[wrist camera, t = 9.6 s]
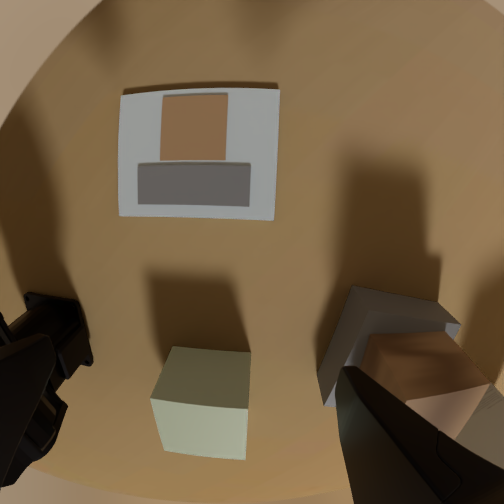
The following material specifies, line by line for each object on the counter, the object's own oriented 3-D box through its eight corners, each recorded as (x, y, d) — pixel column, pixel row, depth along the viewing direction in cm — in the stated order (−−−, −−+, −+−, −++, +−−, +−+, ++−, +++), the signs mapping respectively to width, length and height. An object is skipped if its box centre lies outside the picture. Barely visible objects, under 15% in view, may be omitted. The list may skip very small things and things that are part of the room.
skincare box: (432, 437, 25) (472, 528, 11) (434, 410, 24) (487, 513, 10) (486, 406, 24) (536, 484, 10) (493, 375, 23) (556, 459, 8)
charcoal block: (315, 371, 22) (323, 406, 19) (350, 283, 20) (368, 310, 16) (396, 378, 23) (412, 408, 19) (435, 300, 20) (461, 324, 16)
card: (122, 214, 19) (117, 216, 18) (124, 96, 16) (119, 95, 16) (273, 219, 18) (274, 221, 18) (279, 91, 16) (280, 88, 15)
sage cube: (179, 398, 23) (164, 450, 18) (172, 345, 22) (150, 398, 16) (248, 405, 23) (245, 459, 18) (251, 351, 22) (248, 409, 16)
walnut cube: (347, 402, 18) (366, 468, 13) (370, 333, 17) (406, 400, 11) (416, 395, 18) (446, 450, 13) (445, 331, 17) (490, 383, 11)
